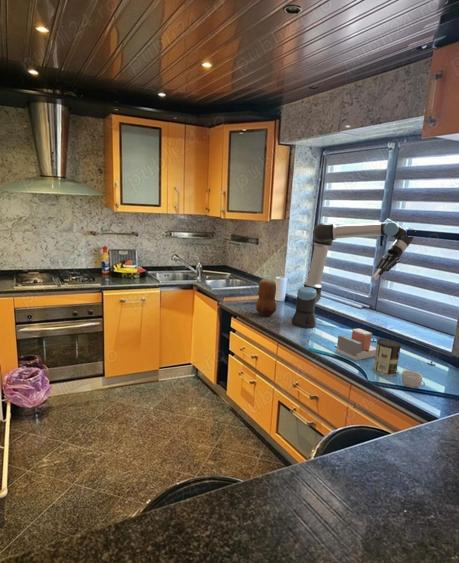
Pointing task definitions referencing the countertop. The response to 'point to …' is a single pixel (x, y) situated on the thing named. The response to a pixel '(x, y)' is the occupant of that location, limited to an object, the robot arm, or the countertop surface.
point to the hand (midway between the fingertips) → (374, 278)
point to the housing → (353, 348)
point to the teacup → (412, 379)
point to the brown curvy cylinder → (266, 297)
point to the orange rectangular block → (362, 338)
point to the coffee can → (386, 357)
